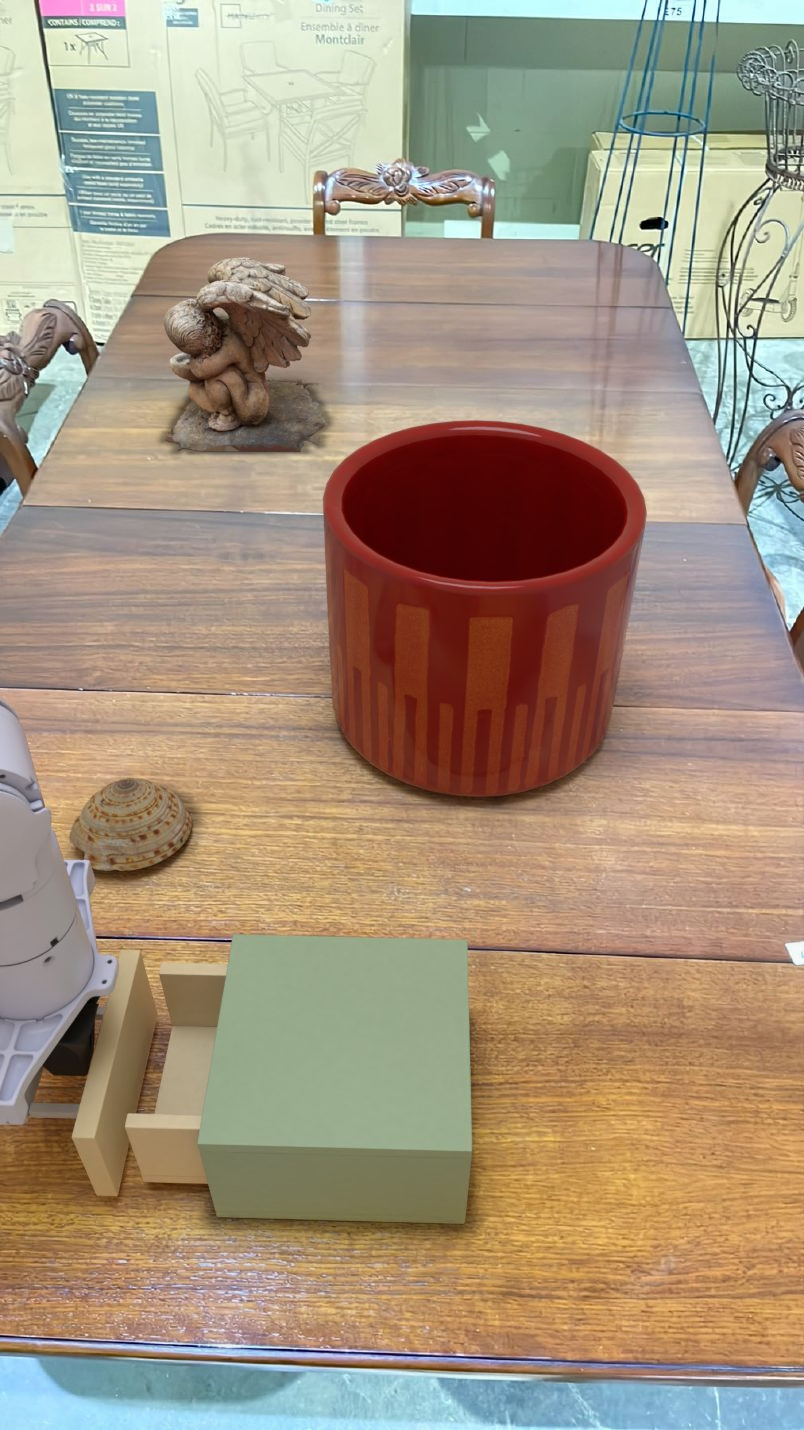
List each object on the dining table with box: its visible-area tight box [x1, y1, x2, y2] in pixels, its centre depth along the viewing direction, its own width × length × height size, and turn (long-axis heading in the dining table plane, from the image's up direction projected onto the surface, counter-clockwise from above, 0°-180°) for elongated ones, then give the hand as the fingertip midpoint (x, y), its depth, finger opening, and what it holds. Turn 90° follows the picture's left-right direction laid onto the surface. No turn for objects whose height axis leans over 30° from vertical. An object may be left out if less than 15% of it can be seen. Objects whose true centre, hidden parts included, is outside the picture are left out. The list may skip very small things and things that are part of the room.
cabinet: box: [197, 933, 473, 1225], centre depth 61 cm, size 14×13×9 cm
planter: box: [322, 419, 648, 798], centre depth 83 cm, size 23×23×20 cm
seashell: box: [68, 777, 193, 872], centre depth 78 cm, size 8×6×8 cm
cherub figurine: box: [163, 257, 326, 452], centre depth 122 cm, size 18×18×18 cm
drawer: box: [23, 949, 228, 1197], centre depth 61 cm, size 18×11×7 cm, turn 89°
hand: (72, 1064), depth 61 cm, fingers closed
